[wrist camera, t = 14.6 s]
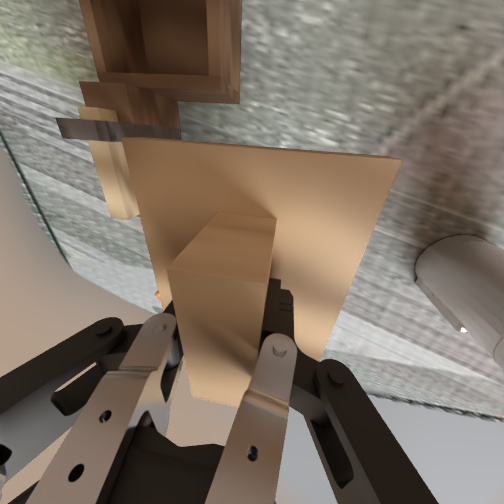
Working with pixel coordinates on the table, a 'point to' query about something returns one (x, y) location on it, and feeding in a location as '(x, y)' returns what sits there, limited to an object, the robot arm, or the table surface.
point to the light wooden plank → (112, 168)
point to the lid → (252, 243)
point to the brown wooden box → (157, 64)
